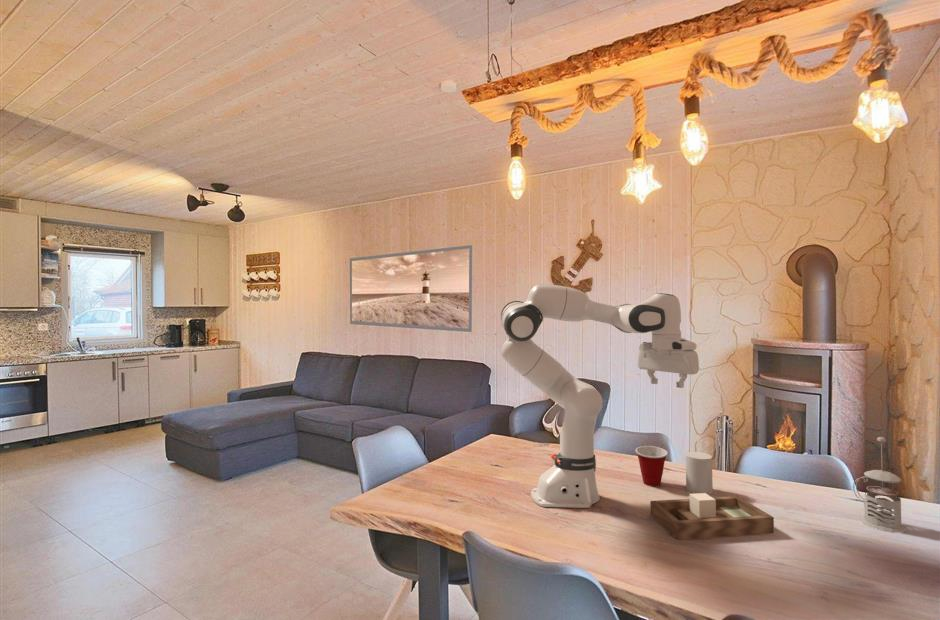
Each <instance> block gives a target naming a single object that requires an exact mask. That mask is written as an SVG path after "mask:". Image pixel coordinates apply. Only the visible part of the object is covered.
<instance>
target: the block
mask: <svg viewBox="0 0 940 620" xmlns="http://www.w3.org/2000/svg"><path fill="white" fill-rule="evenodd" d="M689 499H690V511H691V512H692V513H694V514H695V515H696V516H698V517H699V518H708V517H716V500H715V499H714V498H712V496H710V495H707V494H706V493H698V494H694V493H689Z"/></svg>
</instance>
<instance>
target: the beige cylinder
mask: <svg viewBox="0 0 940 620" xmlns="http://www.w3.org/2000/svg"><path fill="white" fill-rule="evenodd" d="M685 487H686V488H685V489H686V491H687V490H688V492H689V493H691V492H692V493H691V494H694V493H695V494H698V493H706V494H710V495H712V494H713V493H714V492H713V456H712V455H711V454H709V453H706V452H699V451H689V452H685ZM711 493H712V494H711Z"/></svg>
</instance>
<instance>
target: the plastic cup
mask: <svg viewBox="0 0 940 620" xmlns="http://www.w3.org/2000/svg"><path fill="white" fill-rule="evenodd" d="M635 453H636V455H637V458H638V463H639V468H640V473H641V478H642V482H643V484H644V485H646V486H648V487H659V486H660V485H661V484H662V478H663V477H662V476H663V475H664V467H665V462H666V458H667V456H668V454H669V453H668V451H667V450H666V449H664V448H661V447H659V446H653V445H644V446H639V447H636V448H635Z"/></svg>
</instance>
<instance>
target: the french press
mask: <svg viewBox="0 0 940 620" xmlns="http://www.w3.org/2000/svg"><path fill="white" fill-rule="evenodd" d="M876 441H878V442H880V454H881V455H880V457H881V462H880V463H881V469H871V470H867V471H865V472H863V475H864V476H861V477H858V478H856V479H855V480H854V482H853V485H852V488H853V493H854V495H855V496H856V498H857V499H859V501H861V502H862V503H863V505H864V516H863V517H861V519H860V521H861V523H862V524H863V525H866V526H867V525H868V526H867V527H870V528H872V527H873V529H875V528H877V529H876V530H878V529H881V530H880V531H882V530H883V532H887V531H890V532H889V533H895V532H901V533H903V532H902V531H905V530H906V529H907V528H906V527H905V526H904V524H902V499H901V497H900V496H899V495H900V493H899V492H898V491H897V490H895V489H891V488H889V487H884V483H889V484H898V483H900V482H901V481H902V478H901V477H899V476H898V475H896V474H894V473H892V472H890V471H886V470H883V469H884V468H883V443H885V442H886V441H887V440H886V438H885V437H883V436H878V437H877V438H876ZM860 479H861V480H862V479H863V482H864V483H867V482H869V479H871V480H874V481H878V482H881V486H877V485H869V486H866V487H865V489H866V490H867V491H866V492H864V497H862V495H860V493H859V491H858V482H859V481H860ZM855 489H856V490H855ZM878 496H879V497H878ZM880 496H881V497H880ZM882 496H883V497H882ZM859 497H860V498H859ZM885 497H886V498H885ZM888 498H889V499H888ZM890 499H891V500H890ZM906 531H907V530H906ZM906 531H905V532H906Z"/></svg>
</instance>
